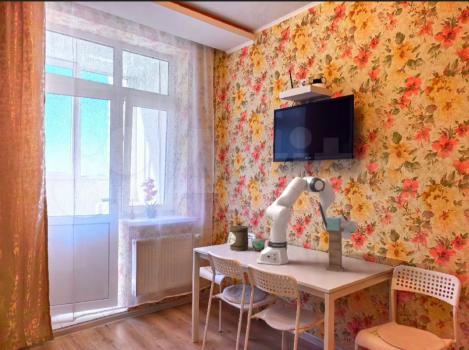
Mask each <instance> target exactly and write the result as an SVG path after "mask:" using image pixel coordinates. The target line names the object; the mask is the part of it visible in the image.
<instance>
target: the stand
mask: <svg viewBox="0 0 469 350" xmlns="http://www.w3.org/2000/svg"><path fill="white" fill-rule="evenodd" d="M326 231H329V233H328V265H327V266H326V267H325V268H326V271H333V272H340V273H341V272H342V273H343V272H344V271H345V270H346V268H345V266H343V249H342V248H343V247H342V246H343V237H342V232H343V231H345V228H341V229H340V230H339V231H337V230H327V228H326V230H325V232H326Z"/></svg>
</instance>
